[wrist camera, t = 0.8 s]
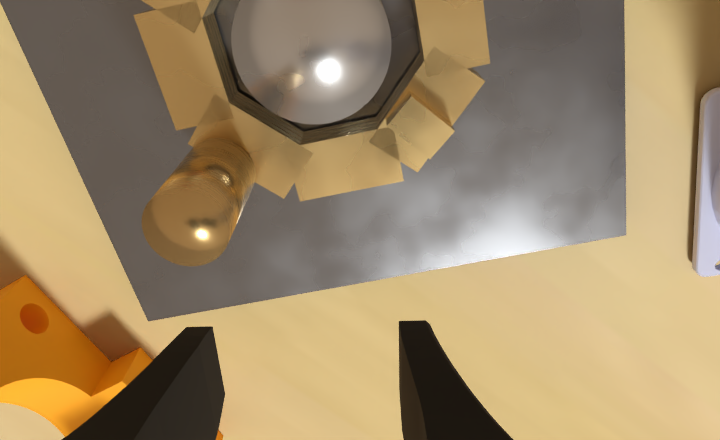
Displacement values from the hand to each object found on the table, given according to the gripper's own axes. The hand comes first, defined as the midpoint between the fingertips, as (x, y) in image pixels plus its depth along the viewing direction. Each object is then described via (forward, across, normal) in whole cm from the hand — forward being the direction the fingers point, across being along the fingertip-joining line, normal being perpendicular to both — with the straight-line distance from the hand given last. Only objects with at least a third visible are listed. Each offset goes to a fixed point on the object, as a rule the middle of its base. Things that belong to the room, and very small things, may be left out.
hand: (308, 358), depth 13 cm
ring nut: (+9, 0, -6) cm, 11 cm away
